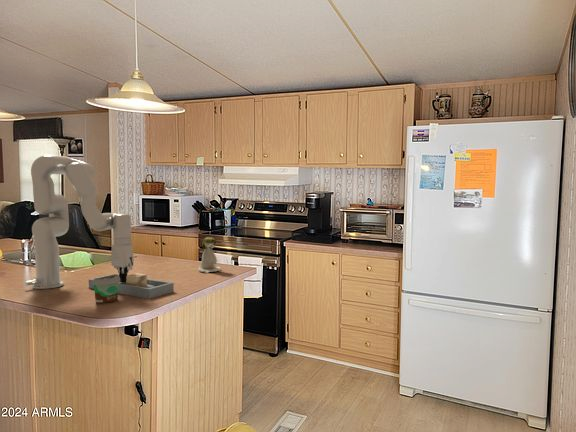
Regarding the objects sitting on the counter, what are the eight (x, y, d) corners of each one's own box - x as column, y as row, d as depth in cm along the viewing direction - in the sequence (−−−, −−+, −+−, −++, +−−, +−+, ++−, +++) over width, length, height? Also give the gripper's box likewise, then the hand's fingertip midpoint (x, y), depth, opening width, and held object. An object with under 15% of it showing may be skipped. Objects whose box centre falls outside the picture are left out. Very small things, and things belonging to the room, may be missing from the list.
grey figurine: (196, 273, 236) (195, 238, 235) (200, 268, 249) (200, 235, 248) (218, 273, 236) (218, 238, 235) (222, 268, 249) (222, 235, 248)
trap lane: (149, 298, 184) (149, 289, 183) (88, 287, 202) (88, 279, 202) (173, 291, 196) (173, 282, 196) (114, 282, 214) (114, 273, 214)
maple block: (136, 288, 193) (136, 277, 192) (126, 286, 196) (126, 275, 195) (146, 285, 198) (146, 274, 198) (137, 284, 201) (137, 273, 201)
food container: (105, 306, 172) (104, 280, 171) (92, 304, 174) (92, 279, 174) (127, 298, 184) (127, 274, 183) (115, 297, 186) (115, 273, 185)
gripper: (104, 241, 200) (105, 281, 201) (127, 243, 193) (128, 285, 194) (117, 239, 207) (118, 278, 208) (140, 241, 199) (141, 282, 201)
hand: (123, 281), depth 201 cm, fingers closed
